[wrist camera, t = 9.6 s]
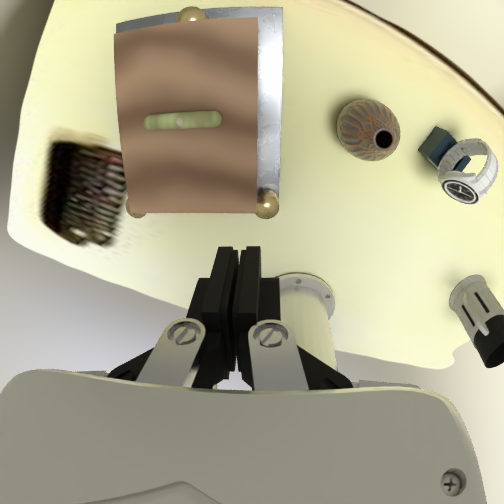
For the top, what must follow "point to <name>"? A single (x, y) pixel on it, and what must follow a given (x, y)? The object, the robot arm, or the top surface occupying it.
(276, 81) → the base
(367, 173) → the top surface
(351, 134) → the vase
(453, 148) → the watch
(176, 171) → the plate
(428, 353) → the top surface
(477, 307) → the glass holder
